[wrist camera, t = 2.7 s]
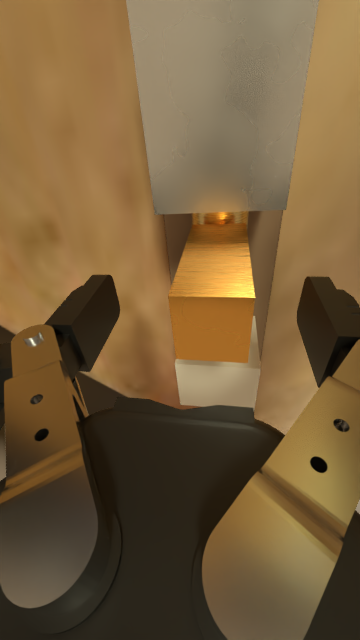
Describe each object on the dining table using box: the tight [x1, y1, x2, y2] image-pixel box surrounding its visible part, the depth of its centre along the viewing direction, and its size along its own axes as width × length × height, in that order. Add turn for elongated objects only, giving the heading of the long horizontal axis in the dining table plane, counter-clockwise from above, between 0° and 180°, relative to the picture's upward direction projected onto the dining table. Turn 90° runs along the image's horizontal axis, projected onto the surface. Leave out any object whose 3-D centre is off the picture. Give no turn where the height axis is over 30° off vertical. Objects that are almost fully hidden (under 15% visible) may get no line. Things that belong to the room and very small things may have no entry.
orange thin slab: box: [168, 211, 255, 363], centre depth 12 cm, size 3×17×10 cm, turn 4°
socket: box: [175, 316, 261, 410], centre depth 23 cm, size 6×5×6 cm
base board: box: [164, 210, 283, 360], centre depth 19 cm, size 8×28×1 cm, turn 5°
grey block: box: [126, 0, 319, 215], centre depth 11 cm, size 6×11×6 cm, turn 5°
